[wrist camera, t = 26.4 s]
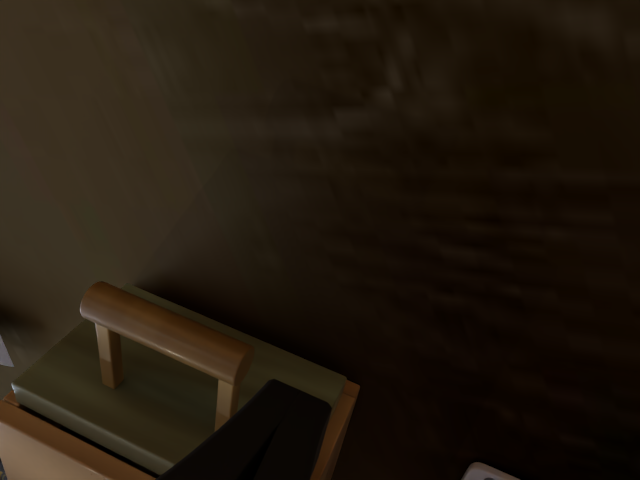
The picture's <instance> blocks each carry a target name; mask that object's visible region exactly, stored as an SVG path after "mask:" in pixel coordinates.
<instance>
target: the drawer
mask: <svg viewBox="0 0 640 480" xmlns="http://www.w3.org/2000/svg"><path fill="white" fill-rule="evenodd" d="M80 313H81V315H82V317H83V318H85V320H84V321H83V322H81V323H80V324H79V325H78V326H77V327H76V328H75V329H73V330H72V331H71V332H70V333H69V334H68V335H66V336H65V337H64V338H63V339H62V340H61V341H60V342H58V343H57V344H56V345H55V346H54V347H53V348H51V349H50V350H49V351H48V352H47V353H46V354H45V355H43V356H42V357H41V358H40V359H39V360H38V361H36V362H35V363H34V364H33V365H32V366H31V367H30V368H28V369H27V370H26V371H25V372H24V373H23V374H21V375H20V376H19V377H18V378H17V379H16V380H15V381H13V382H12V387H13V390H14V394H15V398H16V401H17V402H18V403H20V404H22V405H24V406H26V407H27V408H29V409H31V410H33V411H35V412H37V413H39V414H41V415H43V416H45V417H47V419H46V420H45V422H47V423H49V424H51V425H53V426H55V427H57V428H59V429H61V430H63V431H65V432H67V433H69V434H70V435H72V436H74V437H76V438H78V439H80V440H82V441H84V442H86V443H88V444H90V445H92V446H94V447H96V448H98V449H100V450H102V451H104V452H105V453H107V454H109V455H111V456H113V457H115V458H117V459H119V460H121V461H123V462H125V463H127V464H128V463H129V462H130V460H131V461H133V462H135V463H137V464H139V465H141V466H143V467H145V468H147V469H149V470H151V471H153V472H155V473H156V474H158V475H160V476H161V475H162V474H163V473H165V472H166V471H167V470H169V469H170V468H171V467H172V466H174V465H175V464H176V463H178V462H179V461H180V460H182V459H183V458H184V457H185V456H187V455H188V454H189V453H190V452H192V451H193V450H194V449H195V448H196V447H198V446H199V445H200V444H201V443H202V442H204V441H205V440H206V439H207V438H208V437H209V436H211V435H212V434H213V433H214V432H215V431H217V430H218V429H219V428H220V427H221V426H222V425H223V424H225V423H226V422H227V421H228V420H229V419H230V418H231V417H232V416H233V415H234V414H236V413H237V412H238V411H239V410H240V409H241V408H242V407H243V406H244V405H245V404H246V403H247V402H248V401H249V400H250V399H251V398H252V397H253V396H254V395H255V394H256V393H257V392H258V391H259V390H260V389H261V388H262V387H263V386H264V385H265V384H266V383H267V381H268V380H271V379H276V380H278V381H281V382H283V383H285V384H287V385H290V386H292V387H294V388H297V389H299V390H301V391H303V392H306V393H308V394H310V395H312V396H315V397H317V398H319V399H321V400H324V401H326V402H328V403H329V404H330V406H331V407H332V411H331V415H330V418H329V421H330V419H331V417H332V415H333V413H334V411H335V409H336V407H337V404H338V402H339V400H340V398H341V396H342V393H343V390H344V387H345V383H346V380H347V377H345V376H343V375H341V374H338V373H336V372H334V371H331V370H329V369H327V368H324V367H322V366H320V365H317V364H315V363H313V362H310V361H308V360H306V359H303V358H301V357H299V356H296V355H294V354H292V353H289V352H287V351H285V350H282V349H280V348H278V347H275V346H273V345H271V344H268V343H266V342H264V341H261V340H259V339H257V338H254V337H252V336H250V335H247V334H245V333H243V332H240V331H238V330H236V329H233V328H231V327H229V326H226V325H224V324H222V323H219V322H217V321H215V320H212V319H210V318H208V317H205V316H203V315H201V314H198V313H196V312H194V311H191V310H189V309H187V308H184V307H182V306H179V305H177V304H175V303H172V302H170V301H168V300H165V299H163V298H161V297H158V296H156V295H154V294H151V293H149V292H147V291H144V290H142V289H140V288H137V287H135V286H133V285H130V284H128V283H127V284H125V285H124V286H123V287H122V288H121V289H120V288H117V287H115V286H113V285H110V284H108V283H106V282H97V283H95V284H93V285H92V286H91V287H90V288H89V289H88V290H87V292H86V293H85V295H84V297H83V299H82V301H81V305H80ZM328 424H329V422H328ZM327 426H328V425H327Z"/></svg>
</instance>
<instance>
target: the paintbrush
mask: <svg viewBox="0 0 640 480" xmlns="http://www.w3.org/2000/svg"><path fill="white" fill-rule="evenodd" d="M0 364H1V365H6V366H11V367H14V366H13V364H12V361H11V359H10V357H9V354H8V352H7V350H6V347H5V345H4V343H3V340H2V338H1V336H0Z"/></svg>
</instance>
